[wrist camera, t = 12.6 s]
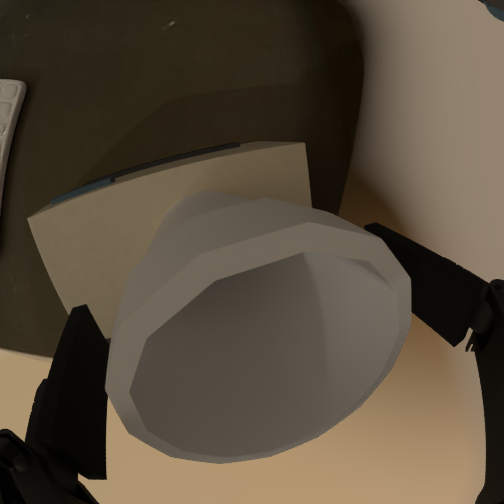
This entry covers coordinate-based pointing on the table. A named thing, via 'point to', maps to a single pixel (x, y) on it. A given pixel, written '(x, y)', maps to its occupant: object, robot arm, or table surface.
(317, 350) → the foam cup
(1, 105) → the calculator
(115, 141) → the table surface
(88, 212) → the printer
